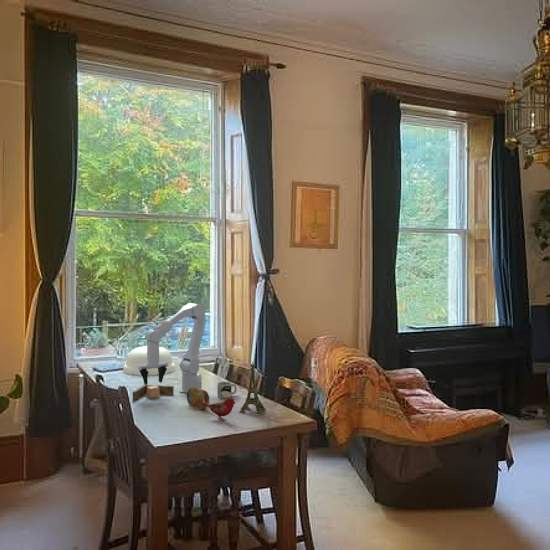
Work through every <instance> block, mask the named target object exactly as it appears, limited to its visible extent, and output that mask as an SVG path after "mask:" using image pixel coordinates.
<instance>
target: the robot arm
mask: <svg viewBox="0 0 550 550" xmlns="http://www.w3.org/2000/svg"><path fill="white" fill-rule="evenodd" d="M206 311H207V310H206V309H205V307H204V306H203V305H202V304H200V303H193V302H189V303H187V304H185V305H184V306H182V308H181V309H179V310H178V311H177V312H176V313H175V314H173V315H172V317H170V318H169V319H164V320H160V323H159V324H157V325H156V326H154V327H152V329H149V330H148V331H146V333H145V335H144V339H145V340H146V346H147V364H144V365H139V366H138V370H139V371H140V373H141V375H140V376H141V377H142V380H143V385H148V381H149V379H148V378H149V375H148V371H147V370H146V369H152V368H158V373H159V375H158V382H159V383H161V384H162V383H163V380H164V376H165V372H166V370H167V368H166V367H168V363H167V362H164V363H159V347H160V342H161V340H162V338H163V337H164V336H165V335H167V334H168V333H170V331H172V330H173V326H174V325H176V324H177V323H179V322H180V321H181V320H183V319H184V318H186V317H187V318H188V317H189V318H191V320H192V322H194V324H193V328H192V332H191V336H190V340H189V344H188V347H187V352H186V353H185V354H184V355H183V358H182V359H181V361H180V364H179V368H180V370H181V374H182V375H181V390H179V393H183V394H184V393H186V394H187V392H188V390H189V389H190V388H199V389H202V384H203V383H202V379H203V377H202V374H201V373H198V372H199V370H200V359H199V351H200V347H201V343H202V339H203V335H204V333H205V332H204V331H205V327H206V324H207V320H206Z"/></svg>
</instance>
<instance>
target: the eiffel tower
mask: <svg viewBox="0 0 550 550" xmlns="http://www.w3.org/2000/svg"><path fill="white" fill-rule="evenodd" d="M249 367H250V377H249V384H248V388H247V390H246V391H247V396H246V399H245V402H244V404H243V405H242V407H241V408H240V410H239V411H238V413H242V414H241V415H245V414H244V413H246V410H248V409H249V405H253V406H255V411H256V412H255V415H256V414H260V415H259V416H263V415H264V412H262V411H265V410H266V407H265V406H264V403H262V402H261V400H260V397H259V396H258V389H259V388H258V387H257V381H256V372H255V367H256V363H254V362H251V363H250V365H249ZM252 394H253V396H252ZM264 409H265V410H264Z"/></svg>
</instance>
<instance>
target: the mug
mask: <svg viewBox="0 0 550 550" xmlns="http://www.w3.org/2000/svg"><path fill="white" fill-rule="evenodd" d="M232 387H233V388H234V391H232ZM237 391H238V389H237V384H235V383H232V382H230V381H220V382H217V396H216V397H217V398H218V399H222V400H223V399H224V400H226V399H228V398H232V396H233V395H235V394H236V393H237Z"/></svg>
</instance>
